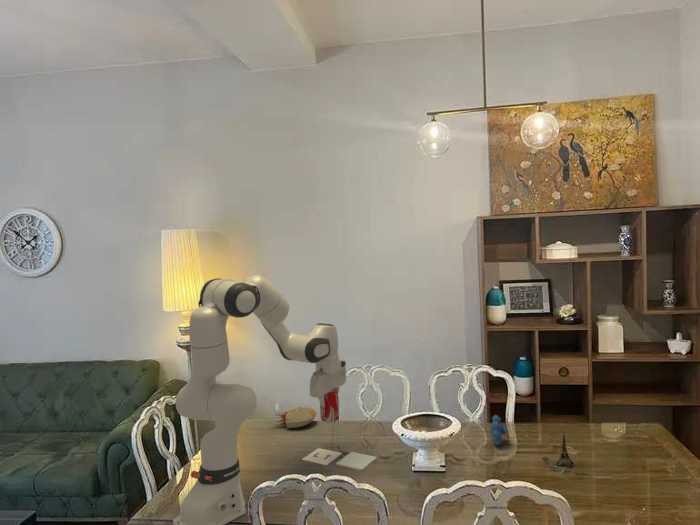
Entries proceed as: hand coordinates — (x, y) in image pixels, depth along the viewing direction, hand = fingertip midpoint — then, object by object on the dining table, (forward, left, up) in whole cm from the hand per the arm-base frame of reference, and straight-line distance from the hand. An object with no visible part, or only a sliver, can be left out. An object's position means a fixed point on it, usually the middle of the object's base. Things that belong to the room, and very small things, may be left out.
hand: (329, 402), depth 190 cm
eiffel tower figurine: (+30, -77, -22) cm, 85 cm away
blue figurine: (+37, -53, -22) cm, 68 cm away
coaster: (+1, -10, -21) cm, 24 cm away
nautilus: (+21, +34, -22) cm, 46 cm away
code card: (-1, +4, -21) cm, 22 cm away
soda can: (0, 0, -7) cm, 7 cm away
